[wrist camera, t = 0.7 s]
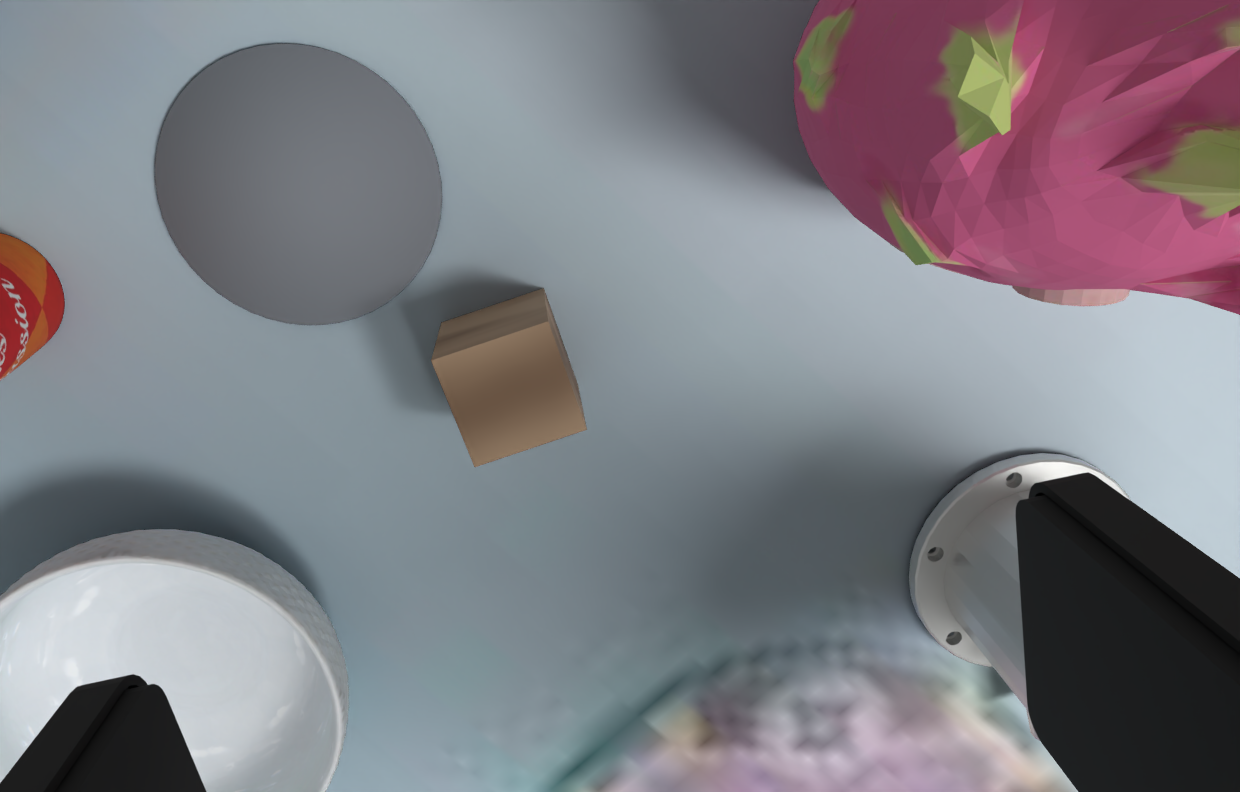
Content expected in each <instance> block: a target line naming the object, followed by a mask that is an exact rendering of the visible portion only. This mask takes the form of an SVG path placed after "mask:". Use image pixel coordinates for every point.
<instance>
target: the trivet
mask: <svg viewBox="0 0 1240 792" xmlns="http://www.w3.org/2000/svg"><path fill="white" fill-rule="evenodd" d="M155 183H156V190H157V197H158V202H159V206H160V209H161V213H162V216H163V219H164V222H165V224H166V226H167V229H168V231H169V234H170V236H171V238H172V239H173V241H174V243H175V245H176V246H177V248H178V250H179V252H180V253H181V254H182V256H183V257H184V259H185V260H186V261H187V263H188V264H189V265H190V267H191V268H192V269H193V270H194V271H195V272H196V273H197V274H198V275H199V276H200V277H201V278H202V280H203V281H204V282H206V283H207V284H208V285H209V286H210V287H212V288H213V289H214V290H215V291H216V292H217V293H219V294H220V295H222V296H223V297H225V298H226V299H228V300H229V301H231V302H232V303H234V304H236V305H238V306H240V307H241V308H243V309H245V310H247V311H249V312H251V313H254V314H257V315H260V316H262V317H265V318H268V319H272V320H276V321H280V322H284V323H290V324H299V325H326V324H333V323H340V322H344V321H348V320H351V319H355V318H358V317H360V316H363V315H365V314H368V313H370V312H372V311H374V310H376V309H378V308H379V307H381V306H383V305H385V304H386V303H388V302H389V301H390V300H392V299H393V298H394V297H395V296H397V295H398V294H399V293H400V292H401V291H402V290H403V289H404V288H405V287H406V286H407V285H408V284H409V283H410V282H411V281H412V280H413V279H414V277H415V276H416V275H417V273H418V272H419V271H420V269H421V268H422V266H423V264H424V263H425V261H426V259H427V257H428V255H429V253H430V251H431V249H432V246H433V243H434V241H435V238H436V235H437V231H438V227H439V222H440V218H441V207H442V188H441V178H440V172H439V166H438V162H437V159H436V156H435V153H434V149H433V146H432V144H431V142H430V140H429V137H428V135H427V133H426V131H425V129H424V127H423V125H422V124H421V122H420V120H419V119H418V117H417V116H416V114H415V112H414V111H413V110H412V109H411V107H410V106H409V105H408V103H407V102H406V101H405V100H404V98H403V97H402V96H401V95H400V94H399V93H398V92H397V91H396V90H395V89H394V88H393V87H392V86H391V85H390V84H389V83H387V82H386V81H385V80H384V79H382V78H381V77H380V76H378V75H377V74H376V73H375V72H373V71H372V70H370V69H368V68H367V67H365V66H363V65H362V64H360V63H358V62H357V61H355V60H352V59H350V58H348V57H346V56H343V55H341V54H339V53H336V52H333V51H329V50H326V49H322V48H319V47H313V46H307V45H301V44H271V45H262V46H256V47H253V48H249V49H245V50H241V51H238V52H236V53H234V54H231V55H229V56H226V57H224V58H222V59H220V60H219V61H217V62H215V63H214V64H212V65H211V66H209V67H207V68H206V69H205V70H204V71H202V72H201V73H200V74H199V75H198V76H196V77H195V78H194V79H193V80H192V81H191V82H190V83H189V84H188V85H187V87H186V88H185V89H184V90H183V91H182V92H181V93H180V95H179V96H178V98H177V99H176V101H175V103H174V104H173V106H172V107H171V109H170V111H169V113H168V115H167V117H166V120H165V122H164V124H163V127H162V130H161V134H160V137H159V141H158V145H157V152H156V160H155Z"/></svg>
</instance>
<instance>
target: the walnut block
mask: <svg viewBox="0 0 1240 792" xmlns="http://www.w3.org/2000/svg"><path fill="white" fill-rule="evenodd" d="M431 362H432V364H433V367H434V369H435V372H436V374H437V376H438V379H439V381H440V384H441V386H442V389H443V391H444V394H445V396H446V398H447V401H448V403H449V406H450V408H451V411H452V413H453V415H454V418H455V420H456V423H457V425H458V428H459V430H460V433H461V435H462V437H463V440H464V442H465V445H466V447H467V450H468V452H469V454H470V457H471V459H472V462H473V464H474V467H477V466H480V465H483V464H486V463H489V462H492V461H495V460H498V459H501V458H504V457H507V456H510V455H513V454H516V453H519V452H522V451H525V450H528V449H531V448H534V447H537V446H540V445H543V444H546V443H548V442H551V441H554V440H557V439H560V438H563V437H566V436H569V435H572V434H575V433H578V432H581V431H584V430H587V428H586V423H585V418H584V413H583V408H582V403H581V398H580V393H579V388H578V384H577V381H576V378H575V375H574V372H573V370H572V367H571V364H570V361H569V358H568V355H567V353H566V350H565V347H564V344H563V341H562V339H561V336H560V333H559V330H558V327H557V324H556V322H555V319H554V316H553V313H552V310H551V307H550V305H549V302H548V299H547V296H546V293H545V290H544V288H543V289H540V290H537V291H534V292H531V293H528V294H525V295H522V296H519V297H516V298H513V299H510V300H507V301H504V302H501V303H498V304H495V305H492V306H489V307H486V308H483V309H480V310H477V311H474V312H471V313H468V314H465V315H462V316H459V317H456V318H453V319H450V320H447V321H444V322H441V326H440V329H439V333H438V337H437V340H436V344H435V348H434V352H433V355H432V359H431Z"/></svg>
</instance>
